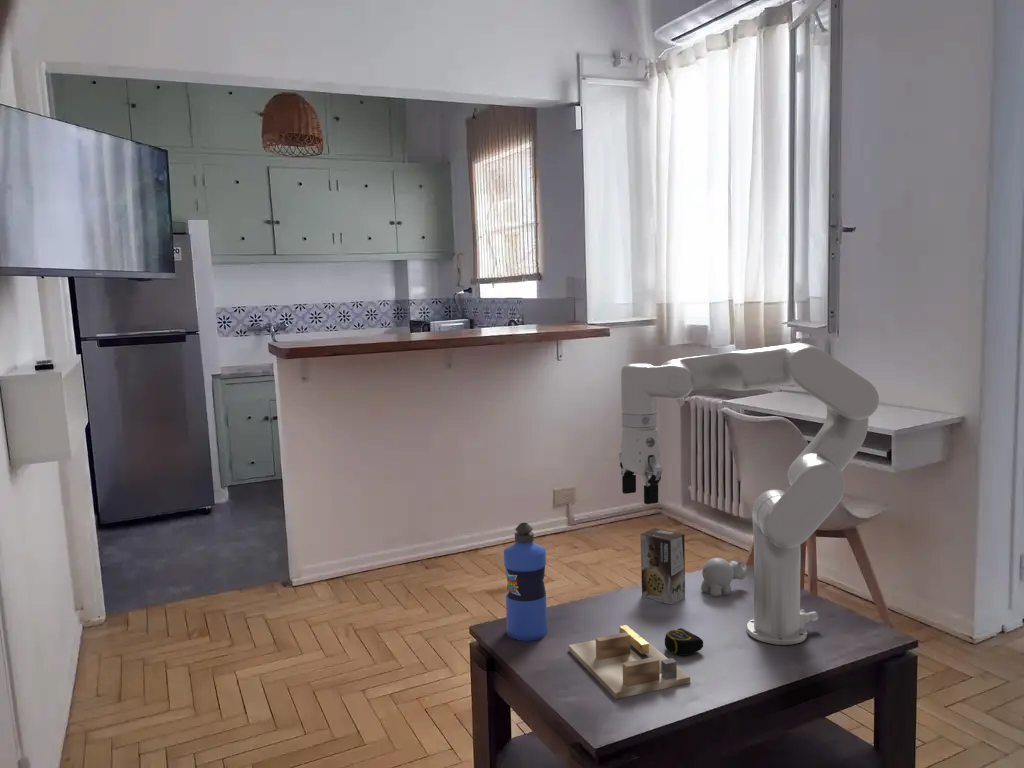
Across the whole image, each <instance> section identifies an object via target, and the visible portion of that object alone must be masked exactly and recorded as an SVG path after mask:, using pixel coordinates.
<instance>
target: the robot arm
mask: <svg viewBox="0 0 1024 768" xmlns="http://www.w3.org/2000/svg"><path fill="white" fill-rule="evenodd" d="M620 378H621V379H620V383H621V384H620V387H621V388H620V389H621V390H620V391H621V396H620V397H621V400H620V401H621V429H622V430H621V431H622V432H621V447H620V448H621V449H620V450H621V451H620V452H619V453H618V459H619V462H620V463H619V466H620V469H621V471H620V474H621V478H622V479H621V482H622V483H621V485H622V486H621V487H622V488H621V489H622V490H621V491H622V494H624V495H627V494H634V493H636V492H637V475H638V476H642V479H643V481H644V484H645V485H643V504H645V505H651V504H658V503H659V485H660V481H661V479H662V473H663V467H662V458H661V456H662V455H661V445H660V438H659V436H660V435H659V431H658V427H657V425H658V422H657V418H658V414H657V413H658V412H657V411H658V409H657V406H658V405H657V398H660V399H661V398H663V399H669V400H681V399H683V398H686V397H687V396H689V394H690V393H691V392H692V391H696V390H697V391H698V390H706V389H724V390H725V389H726V390H731V391H739V392H740V391H752V390H760V389H761V390H762V389H768V388H774V387H785V386H791V385H793V386H794V385H797V386H799V387H800V388H801V389H802V390H803V391H806V392H807V393H809V394H810V395H811V396H812V397H814V398H815V399H817V400H818V401H820V402H821V403H823V404H825V406H826V417H825V421H824V423H823V425H822V426H821V428H820V429H819V431H818V432H817V434H816V435H815V436H814V437H813V439H812V440H811V441H810V442H809V443H808V445H807V446H806V447H805V448H804V449H803V450H802V451H801V452H800V453H799V455H798V456H796V458H795V460H793V461H792V463H791V464H790V466H789V468H788V470H787V479H788V483H789V485H790V486H788V488H787V489H786V491H784V490H782V489H769V490H765V491H764V492H762V493H761V494H759V495H758V496H757V498H756V499H755V501H754V503H753V506H752V518H751V519H752V531H753V545H754V546H753V554H754V555H753V556H754V557H753V558H754V561H753V562H754V563H753V619H750V620H749V621H748V622H747V623H746V632H747V634H748V635H749V636H750V637H752V638H753V639H755V640H758V641H759V642H763V643H767V644H771V645H778V646H779V645H780V646H782V645H783V646H787V645H789V646H790V645H795V644H799V643H802V642H804V641H806V639H807V637H808V629H807V628H806V627H805V625H806V624H807V623H808V622H814V621H818V620H819V615H818V613H817V612H816V611H810V612H806V611H805V609H801V558H802V557H801V545H802V544H804V542H806V541H807V540H808V539H809V538H810V537H811V536H812V535H813V534H814V533H815V532H816V530H818V528H819V527H820V526H821V525H822V524H823V523H824V521H825V520H827V517H828V516H830V514H831V513H832V512H833V511H834V510H835V509H836V508H837V506H838V505H839V504H840V502H841V501H842V499H843V496H844V494H845V490H846V479H845V476H844V474H843V471H844V470H845V468H846V467H847V466H848V464H849V463H850V462H851V461H852V459H853V458H854V457H855V456H856V454H857V453H858V451H859V450H860V449H861V447H862V446H863V444H864V441H865V439H866V437H867V435H868V434H867V433H868V428H869V417H871V416H872V415H874V413H875V412H876V410H877V409H878V406H879V402H880V397H879V393H878V390H877V389H876V386H874V384H873V383H871V381H869V380H867V379H866V378H864V377H863V376H861V375H860V374H859V373H857V372H856V371H854V370H852V369H850V368H849V367H848V366H847V365H844V364H843V363H842V362H840V361H839V360H838V359H836V358H835V357H833V356H831V355H830V354H829V353H827V352H826V351H824V350H823V349H821V348H819V347H818V346H815V345H811V344H808V343H805V342H802V343H801V342H795V343H788V344H781V345H774V346H768V347H767V346H765V347H759V348H752V349H742V350H735V351H729V352H728V351H727V352H724V353H717V354H705V355H699V356H698V355H697V356H690V357H682V358H675V359H670V360H667V361H665V362H663V363H662V364H661V365H657V366H654V365H653V364H651V363H629V364H625V365H624V366H622V368H621V373H620Z"/></svg>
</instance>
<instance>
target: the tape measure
mask: <svg viewBox="0 0 1024 768" xmlns="http://www.w3.org/2000/svg"><path fill="white" fill-rule="evenodd" d="M664 646H665V648H666V650H667V651H669V652H670V653H672V654H674V655H679V656H690V655H693V654H694V653H697V652H699V651H701V650H702V649H703V647H704V640H703V638H701V637H700V636H698V635H696V634H693V633H692V632H690V631H688V630H686V629H684V628H682V627H680V628H677V629H671V630H669V631H668V632H667V633H666V634H665V637H664Z"/></svg>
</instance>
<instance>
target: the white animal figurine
mask: <svg viewBox="0 0 1024 768" xmlns="http://www.w3.org/2000/svg"><path fill="white" fill-rule="evenodd" d="M743 565H744V566H743ZM743 565H742V561H740V560H739V562H738V561H736V560H735V558H734V557H731V559H730V562H729V561H727V560H726V559H725V558H721V557H712V558H710V559H708V560H707V561H705V563H704V564H703V566H702V571H701V572H702V578H703V580H702V583H701V586H700V590H701V592H704V593H706V594H708V593H710V595H711V596H712V597H720V596H721V595H723V596H729V595H731V593H732V587H731V582H733V580H739V581H741V580H744V579H745V578H746V576H747V565H746V564H743Z"/></svg>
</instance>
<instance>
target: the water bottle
mask: <svg viewBox="0 0 1024 768" xmlns="http://www.w3.org/2000/svg"><path fill="white" fill-rule="evenodd" d="M533 529H534V528H533V527H532V526H531V525H530V524H529V523H527V522H521V523H519V524H518V525H517V526H516V528H515V529H514V530H515V531H516V532H515V533H514V542H515V543H513V544H510V546H507V547H505V548H504V549H503V565H504V566H503V567H504V570H505V575H506V582H507V583H506V594H505V608H506V611H505V612H506V613H505V614H506V635H507V636H508V637H509V638H510V637H511V639H512V638H513V639H512V640H515V639H517V640H516V641H519V640H523V641H522V642H531V641H532V642H533V641H538V640H541V639H542V638H545V636H547V634H548V616H547V615H548V614H547V613H548V611H547V591H546V585H545V572H546V565H547V556H546V555H547V553H546V552H547V550H546V548H545V547H544V546H542V545H540V544H538V543H535V542H534V541H535V536H534V535H535V534H534V531H533ZM532 531H533V532H532Z"/></svg>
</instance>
